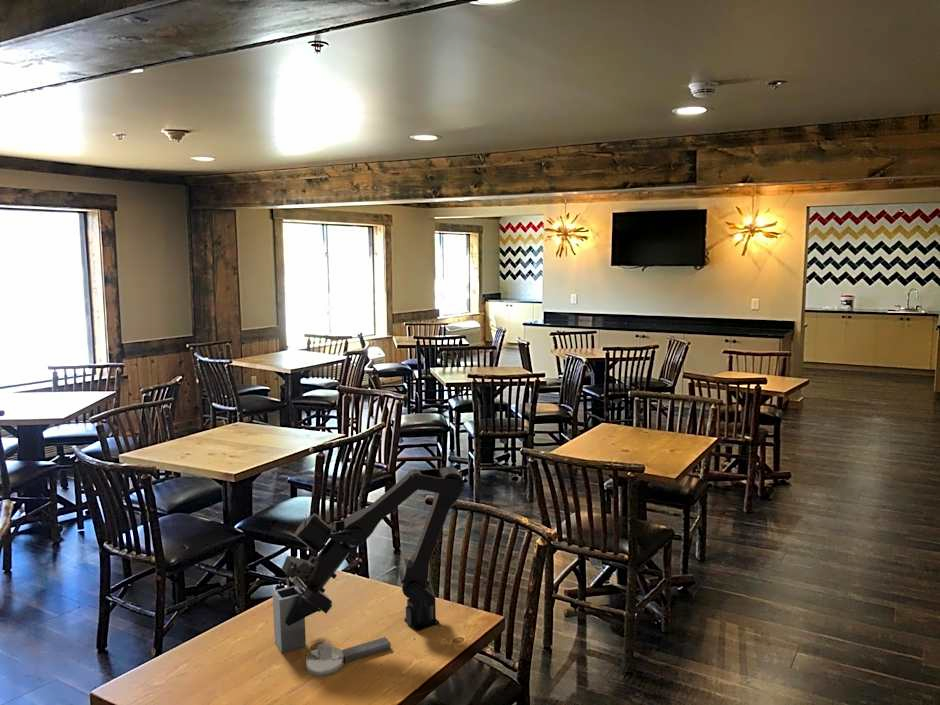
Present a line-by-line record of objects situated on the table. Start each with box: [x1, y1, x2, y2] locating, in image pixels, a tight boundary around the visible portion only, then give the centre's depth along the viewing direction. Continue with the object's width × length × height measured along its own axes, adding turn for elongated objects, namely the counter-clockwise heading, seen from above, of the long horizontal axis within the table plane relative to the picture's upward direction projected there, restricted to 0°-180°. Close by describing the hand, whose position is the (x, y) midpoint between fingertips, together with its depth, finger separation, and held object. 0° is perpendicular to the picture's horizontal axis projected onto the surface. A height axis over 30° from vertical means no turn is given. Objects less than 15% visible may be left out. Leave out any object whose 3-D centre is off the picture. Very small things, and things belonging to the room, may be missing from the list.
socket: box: [272, 585, 307, 654], centre depth 163 cm, size 6×6×12 cm
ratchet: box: [305, 636, 392, 677], centre depth 157 cm, size 19×8×4 cm, turn 121°
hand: (283, 618), depth 162 cm, fingers open, 6 cm apart
